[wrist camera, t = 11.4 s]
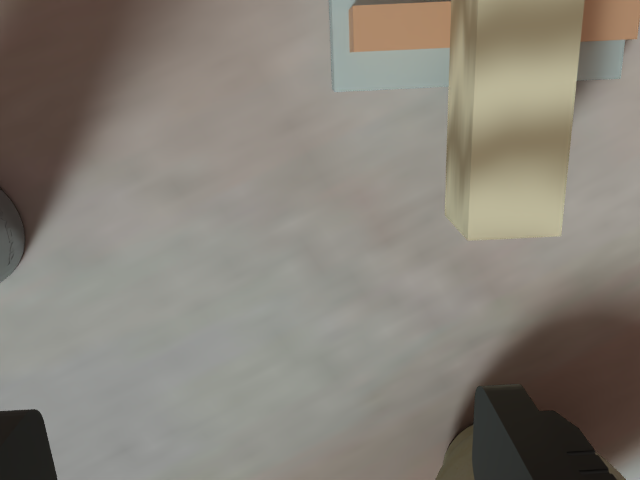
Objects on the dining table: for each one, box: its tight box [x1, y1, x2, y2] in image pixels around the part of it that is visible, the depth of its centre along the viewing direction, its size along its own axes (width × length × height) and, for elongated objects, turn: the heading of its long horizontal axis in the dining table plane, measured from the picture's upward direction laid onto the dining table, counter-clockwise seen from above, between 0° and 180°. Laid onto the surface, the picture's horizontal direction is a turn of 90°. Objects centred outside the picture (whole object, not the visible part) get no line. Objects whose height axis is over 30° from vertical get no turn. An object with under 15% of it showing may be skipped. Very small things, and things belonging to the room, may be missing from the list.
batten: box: [445, 0, 585, 241], centre depth 28 cm, size 22×5×5 cm, turn 2°
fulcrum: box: [329, 0, 640, 92], centre depth 34 cm, size 18×7×6 cm, turn 92°
